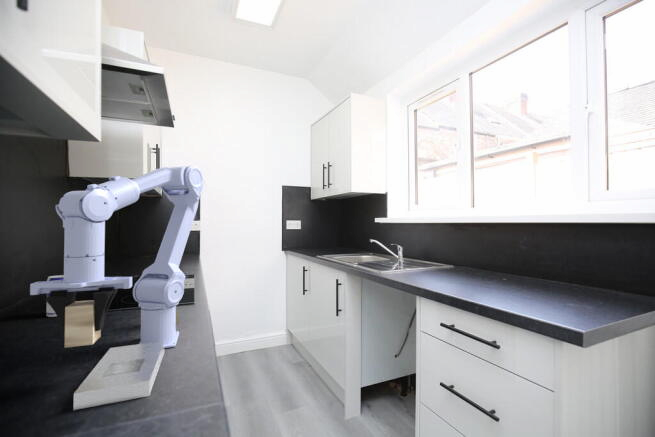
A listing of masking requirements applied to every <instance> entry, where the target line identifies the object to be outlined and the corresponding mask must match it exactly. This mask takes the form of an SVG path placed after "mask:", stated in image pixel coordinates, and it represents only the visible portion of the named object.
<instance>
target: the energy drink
mask: <svg viewBox="0 0 655 437" xmlns="http://www.w3.org/2000/svg"><path fill="white" fill-rule="evenodd" d="M55 280H64V274H60V275H51V276H47V279H46V281H55ZM49 295H50V293H46V298H47V297H49ZM45 313H46V317H48V318H55V317H56V318H57V315H56V313H55V312H54V310H53V309H52V307H51V306H50V305H49V304H48V303H47V302H46V311H45Z"/></svg>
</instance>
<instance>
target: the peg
mask: <svg viewBox="0 0 655 437" xmlns="http://www.w3.org/2000/svg"><path fill="white" fill-rule="evenodd" d="M101 332H102V329H101V330H99V331H95V304H94V299H91V300H79V301H77V300H75V301H74V303H72V304H70V305H68V306H66V307H65V334H64V349H66V348H74V347H81V346H90V345H94V344H95V343H96V342H97V341H98V340H99V339H100V338H101V337H102V336H101V335H102V334H101Z"/></svg>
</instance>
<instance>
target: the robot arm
mask: <svg viewBox="0 0 655 437" xmlns="http://www.w3.org/2000/svg"><path fill="white" fill-rule="evenodd" d="M108 180H109V181H108ZM108 180H107V181H105V182H103V183H100V184H99V183H98V184H96V183H92V184H88V185H87V188H86V189H85V190H72V191H69V192H66V193H65V194H63V197H61V198H60V200H59V203H58V204H55V211H56V214H57V215H58V217H59V218H60V219H61V220H62V228H64V241H63V242H64V245H63V246H64V248H63V249H64V250H63V253H64V254H63V275H64V280H55V281H47V280H46V281H35V282H33V283H30V284H29V285H30V286H29V295H30V296H36V295H40V294H42V295H43V294H47V293H50V295H49V297H47V296H46V304H47V303H48V304H49V305H50V306H51V307H52V309H53V310H54V312H55V313H56V315H57V316H56V318H57V319H58V321H59V324H60V327H61V331H62V334H63V335H65V307H66V306H68V305H70V304H72V303H74V302H76V295H77V292H84V291H96V292H94V293H93V295H92V296H93V300H94V304H95V331H99V330H101V331H102V329H103V328H104V324H105V320H106V317H107V313H108V310H109V309H110V306H111V304H112V301H113V299H114V298H115V296H116V294H117V292H118V289H124V290H126V289H131V288H132V287H133V288H132V296H133V299H134V301H135V302H137V303H138V307H139V308H140V341H139V343H138V344H145V343H153V342H160V341H165V349H169V348H175V347H176V346H177V342H178V339H179V335H180V331H178V330H176V327H177V325H176V307H177V305H179V302H180V301H181V300H182V298H183V295H184V293H185V280H186V274H184V272H183V271H182V270H181V269H180V264H181V261H182V258H183V255H184V251H185V248H186V245H187V242H188V239H189V236H190V233H191V229H192V226H193V224H194V221H195V217H196V214H197V211H198V207H199V200H200V199H201V198H200V197H201V194H202V193H203V189H204V186H205V180H204V176H203V173H202V171H201V170H200V168H199V167H197V166H196V165H189V166H176V167H175V166H174V167H168V166H163V167H161V168H155V169H154V170H151V171H149V172H146V173H144V174H142V175H140V176H137V177H134V178H132V179H131V178H128V177H125V176H120V175H113V176H110V177H109V178H108ZM157 188H160V190H162V192H163V193H164V195H165V196H166V197H167V200H169V202H171V203H173V205H174V207H173V210H172V212H171V215H170V217H169V218H170V219H169V221H168V224H167V227H166V230H165V232H164V235H163V237H162V241H161V242H160V247H159V249H158V251H157V254H156V258H155V260H154V262H153V263H152V264H151V265H149V266H148V267H146V268H144V270H142V273H141V276H140V277H139V279H138V280H137V281H136V282H135V283H134V286H133V276H105V250H106V249H105V244H106V243H105V241H106V240H105V239H106V221H108V220H109V219H110V218H111V217H112V215H113V213H114V212H116V211H119V210H120V209H122V208H125V207H127V206H130V205H132V204H134V203H136V202H137V201H138V200H139V199H140V194H142V193H146V192H149V191H151V190H155V189H157Z"/></svg>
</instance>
